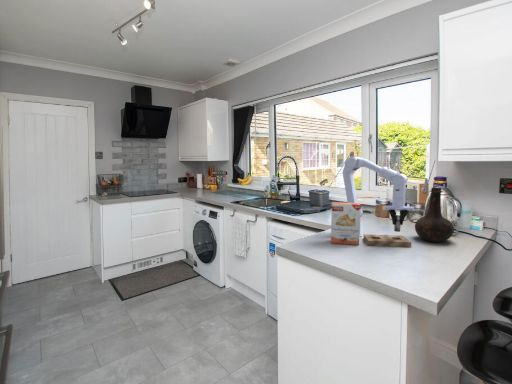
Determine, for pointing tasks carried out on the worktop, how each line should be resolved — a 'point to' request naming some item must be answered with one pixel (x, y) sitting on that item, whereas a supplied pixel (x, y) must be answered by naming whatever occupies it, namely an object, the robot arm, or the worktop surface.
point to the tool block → (386, 240)
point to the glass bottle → (434, 221)
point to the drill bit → (397, 224)
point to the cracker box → (345, 223)
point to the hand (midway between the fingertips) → (397, 224)
